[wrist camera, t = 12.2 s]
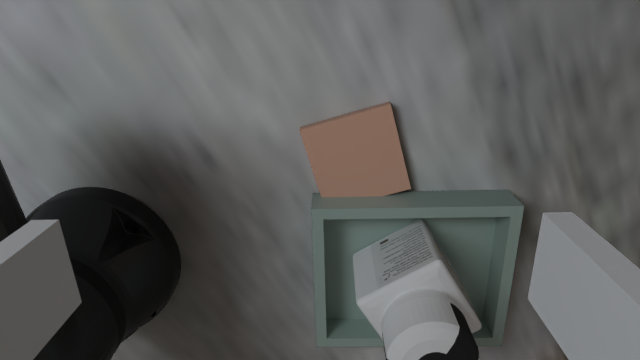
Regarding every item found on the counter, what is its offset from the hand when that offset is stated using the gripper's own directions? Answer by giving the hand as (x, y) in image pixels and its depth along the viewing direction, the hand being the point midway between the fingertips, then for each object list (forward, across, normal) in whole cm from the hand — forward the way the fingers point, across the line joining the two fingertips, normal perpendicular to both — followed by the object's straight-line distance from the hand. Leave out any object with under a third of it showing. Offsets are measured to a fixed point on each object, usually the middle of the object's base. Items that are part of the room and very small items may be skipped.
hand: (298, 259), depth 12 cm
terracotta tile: (+27, +3, -6) cm, 28 cm away
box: (+27, +8, -17) cm, 33 cm away
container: (+26, +8, -17) cm, 32 cm away
